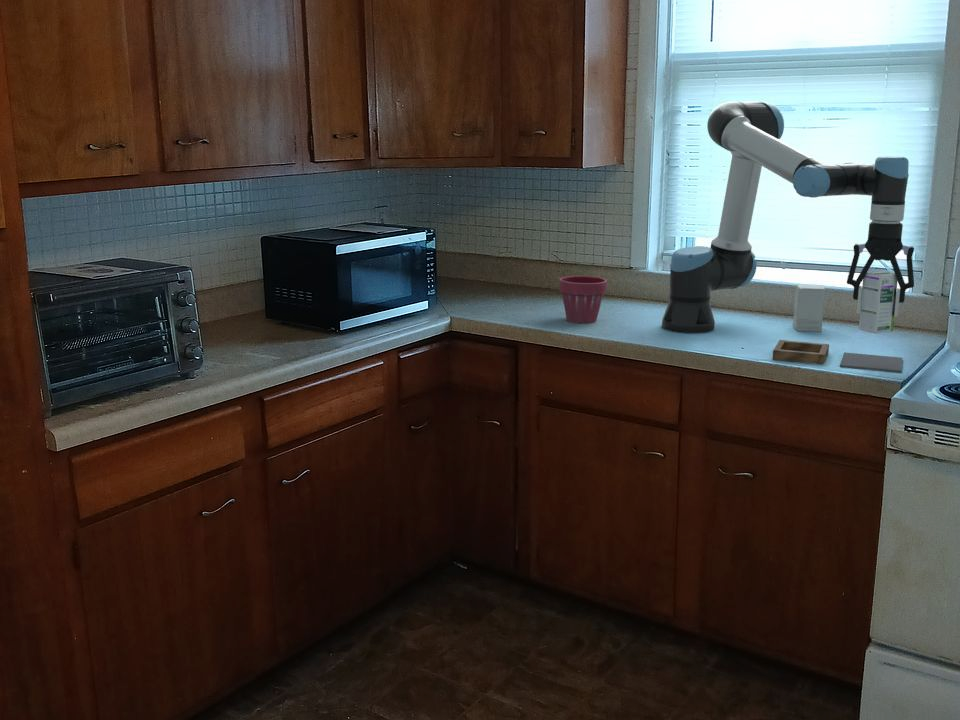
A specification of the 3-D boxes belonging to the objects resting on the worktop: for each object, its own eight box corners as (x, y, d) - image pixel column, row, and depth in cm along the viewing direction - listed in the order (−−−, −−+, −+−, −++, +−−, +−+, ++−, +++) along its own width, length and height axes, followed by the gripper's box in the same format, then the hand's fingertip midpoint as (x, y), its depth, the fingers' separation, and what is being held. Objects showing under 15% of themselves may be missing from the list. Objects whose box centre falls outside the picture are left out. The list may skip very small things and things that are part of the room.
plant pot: (612, 318, 290) (613, 277, 287) (595, 327, 278) (596, 284, 275) (569, 314, 297) (570, 273, 294) (551, 322, 285) (551, 280, 282)
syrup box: (875, 334, 231) (881, 275, 227) (857, 329, 236) (863, 271, 233) (893, 331, 233) (899, 273, 230) (874, 327, 238) (880, 270, 235)
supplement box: (822, 332, 271) (826, 288, 268) (795, 331, 273) (798, 288, 269) (818, 326, 278) (822, 284, 275) (792, 325, 280) (795, 283, 276)
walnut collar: (772, 359, 241) (773, 350, 240) (778, 348, 252) (779, 339, 251) (824, 364, 236) (824, 354, 235) (828, 353, 247) (829, 344, 246)
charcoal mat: (839, 366, 234) (840, 364, 233) (843, 354, 246) (844, 352, 246) (901, 372, 228) (901, 370, 228) (902, 359, 240) (902, 357, 240)
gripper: (839, 221, 229) (831, 313, 235) (933, 225, 221) (922, 320, 226) (841, 218, 236) (833, 308, 241) (933, 221, 227) (922, 314, 233)
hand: (876, 313), depth 234 cm, fingers closed on syrup box, 8 cm apart
